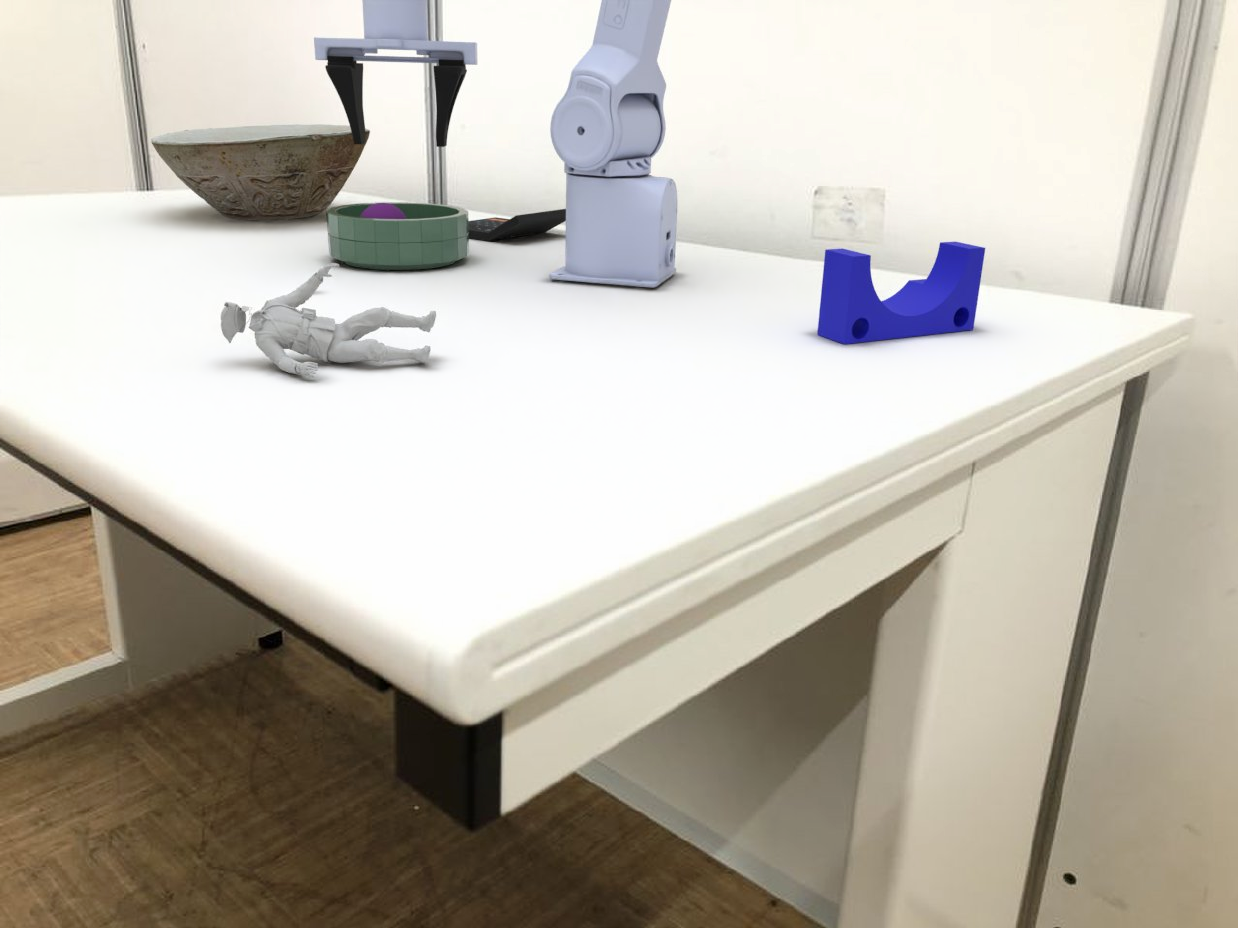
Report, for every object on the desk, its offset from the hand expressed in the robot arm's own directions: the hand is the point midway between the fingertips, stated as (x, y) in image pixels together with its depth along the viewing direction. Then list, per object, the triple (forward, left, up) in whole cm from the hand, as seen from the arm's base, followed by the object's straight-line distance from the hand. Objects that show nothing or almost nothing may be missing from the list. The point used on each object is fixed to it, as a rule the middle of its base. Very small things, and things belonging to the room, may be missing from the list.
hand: (400, 145), depth 100 cm
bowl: (+25, -15, -10) cm, 31 cm away
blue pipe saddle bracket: (-47, +16, -10) cm, 51 cm away
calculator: (-5, -14, -10) cm, 18 cm away
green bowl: (-2, +5, -10) cm, 11 cm away
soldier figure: (-15, +39, -10) cm, 43 cm away
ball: (-1, +5, -7) cm, 9 cm away
